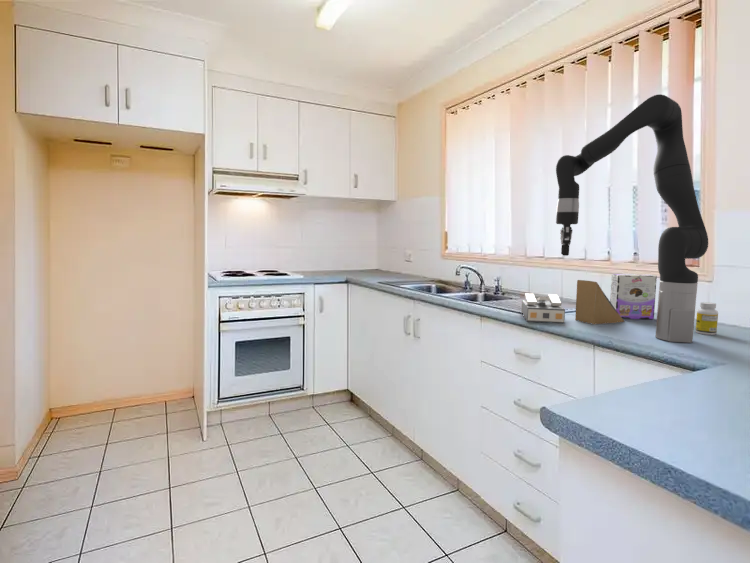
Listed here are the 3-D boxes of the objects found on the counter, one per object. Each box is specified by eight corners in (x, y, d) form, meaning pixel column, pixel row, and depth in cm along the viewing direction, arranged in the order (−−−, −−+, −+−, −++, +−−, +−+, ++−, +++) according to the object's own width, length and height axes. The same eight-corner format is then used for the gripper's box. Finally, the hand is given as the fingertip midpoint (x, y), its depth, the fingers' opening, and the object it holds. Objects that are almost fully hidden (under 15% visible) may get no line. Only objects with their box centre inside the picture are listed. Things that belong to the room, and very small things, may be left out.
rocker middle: (549, 300, 159) (549, 297, 159) (539, 300, 160) (539, 296, 160) (544, 302, 168) (544, 298, 168) (535, 301, 169) (536, 298, 169)
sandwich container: (625, 322, 159) (628, 280, 158) (594, 324, 154) (596, 281, 152) (605, 317, 167) (608, 278, 166) (574, 320, 162) (577, 279, 160)
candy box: (646, 316, 170) (649, 274, 168) (654, 319, 164) (657, 275, 162) (608, 315, 171) (611, 273, 169) (615, 318, 165) (618, 274, 163)
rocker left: (536, 305, 160) (536, 301, 160) (527, 304, 161) (527, 301, 161) (533, 296, 169) (533, 293, 168) (524, 296, 169) (524, 293, 169)
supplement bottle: (695, 330, 145) (698, 301, 144) (716, 333, 142) (719, 302, 141) (694, 333, 141) (697, 302, 140) (716, 336, 137) (719, 304, 136)
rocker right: (561, 306, 159) (561, 302, 158) (551, 305, 159) (552, 302, 159) (556, 297, 167) (557, 294, 167) (547, 297, 168) (548, 294, 167)
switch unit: (564, 323, 154) (565, 307, 153) (527, 321, 157) (528, 305, 156) (554, 314, 172) (555, 299, 171) (521, 312, 175) (522, 298, 174)
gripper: (580, 210, 156) (577, 256, 158) (577, 212, 170) (574, 254, 171) (557, 210, 159) (554, 255, 161) (556, 212, 172) (553, 253, 174)
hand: (564, 255), depth 166 cm, fingers open, 8 cm apart
